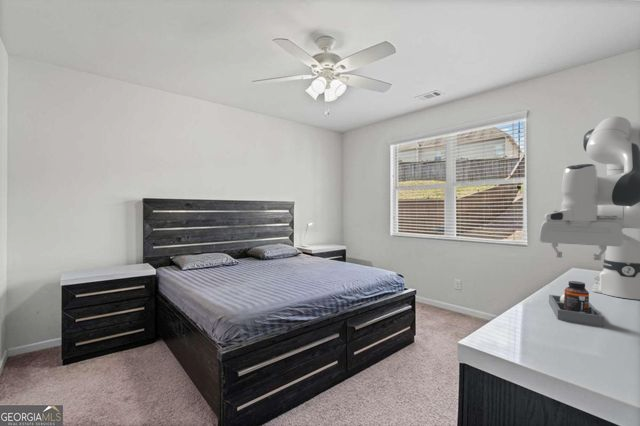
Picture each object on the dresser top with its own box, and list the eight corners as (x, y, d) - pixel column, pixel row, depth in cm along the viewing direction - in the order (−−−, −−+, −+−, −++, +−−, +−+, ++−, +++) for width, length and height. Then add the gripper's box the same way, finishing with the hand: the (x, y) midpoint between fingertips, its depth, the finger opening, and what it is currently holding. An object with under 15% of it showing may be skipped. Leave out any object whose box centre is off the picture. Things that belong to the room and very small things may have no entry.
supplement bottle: (589, 322, 92) (590, 285, 91) (564, 317, 95) (564, 282, 95) (587, 317, 96) (588, 281, 96) (563, 312, 100) (564, 279, 100)
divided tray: (548, 304, 111) (549, 294, 111) (586, 309, 106) (586, 299, 106) (557, 321, 94) (557, 309, 94) (603, 328, 88) (603, 316, 88)
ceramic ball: (558, 305, 108) (558, 290, 108) (578, 308, 105) (579, 292, 105) (561, 309, 103) (561, 293, 103) (582, 313, 100) (582, 296, 100)
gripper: (620, 215, 92) (619, 260, 93) (538, 214, 103) (537, 254, 103) (627, 216, 87) (626, 263, 87) (540, 214, 98) (539, 257, 98)
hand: (577, 258), depth 95 cm, fingers open, 8 cm apart
